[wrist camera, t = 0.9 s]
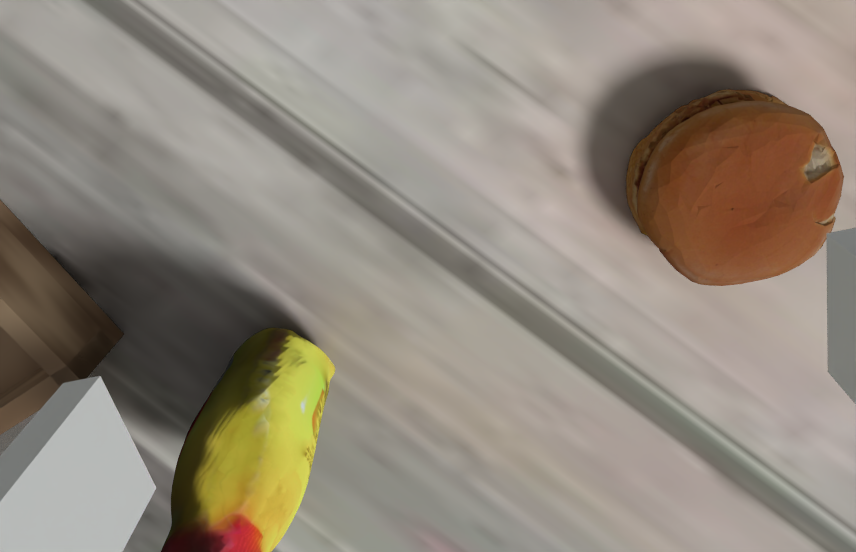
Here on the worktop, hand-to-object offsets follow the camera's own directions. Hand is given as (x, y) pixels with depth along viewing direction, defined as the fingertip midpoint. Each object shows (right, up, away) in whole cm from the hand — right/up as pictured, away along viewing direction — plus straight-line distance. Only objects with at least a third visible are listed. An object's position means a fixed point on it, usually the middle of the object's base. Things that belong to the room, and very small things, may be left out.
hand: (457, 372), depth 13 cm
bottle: (-10, -5, +31) cm, 33 cm away
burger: (+15, +7, +25) cm, 30 cm away
